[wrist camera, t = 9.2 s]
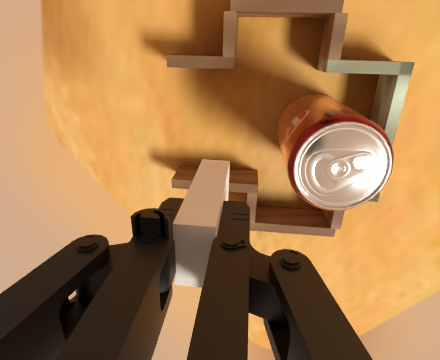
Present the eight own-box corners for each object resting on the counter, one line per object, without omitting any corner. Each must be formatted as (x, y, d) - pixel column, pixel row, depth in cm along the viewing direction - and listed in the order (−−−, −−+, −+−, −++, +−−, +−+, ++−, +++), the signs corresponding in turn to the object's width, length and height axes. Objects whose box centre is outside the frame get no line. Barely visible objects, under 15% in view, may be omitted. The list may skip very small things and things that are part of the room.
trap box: (175, 3, 28) (164, -4, 25) (406, 6, 27) (430, -1, 23) (181, 207, 37) (173, 224, 34) (355, 220, 35) (367, 239, 32)
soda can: (284, 167, 34) (299, 223, 23) (269, 104, 31) (278, 133, 20) (351, 151, 32) (402, 202, 21) (341, 84, 30) (392, 102, 19)
